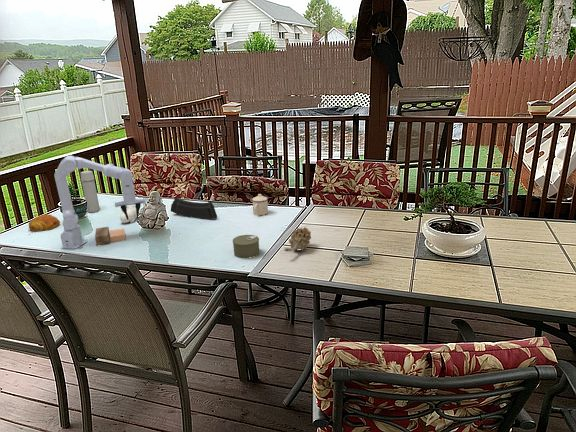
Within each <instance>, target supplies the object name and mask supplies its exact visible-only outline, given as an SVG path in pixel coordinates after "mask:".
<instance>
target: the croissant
mask: <svg viewBox="0 0 576 432" xmlns="http://www.w3.org/2000/svg"><path fill="white" fill-rule="evenodd" d="M60 224H61V221H60V220H59V219H58V218H57V217H56V216H54V215H52V214H46V213H45V214H40V215H38V216H36V217H33V219H31V220H30V221H29V222H28V228H29V229H30V231H31V232H43V231H44V232H45V231H49V230H53V229H55V228H57V227H58V226H59V225H60Z"/></svg>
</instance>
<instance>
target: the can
mask: <svg viewBox="0 0 576 432" xmlns="http://www.w3.org/2000/svg"><path fill="white" fill-rule="evenodd" d="M232 245H233V246H232V247H233V255H234V257H236V258H239V259H250V258H249V257H252V258H254V257H253V256H255V257H257V256H258V255H260V238H259V236H258V235H254V234H242V235H238V236H235V237H234V238H233V239H232ZM257 254H258V255H257ZM256 255H257V256H256Z"/></svg>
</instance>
